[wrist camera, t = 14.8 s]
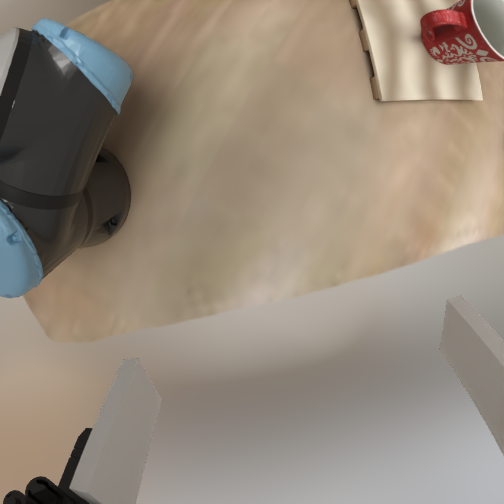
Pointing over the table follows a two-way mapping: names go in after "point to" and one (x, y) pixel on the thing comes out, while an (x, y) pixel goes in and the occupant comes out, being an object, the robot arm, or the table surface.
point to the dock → (410, 54)
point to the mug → (465, 32)
